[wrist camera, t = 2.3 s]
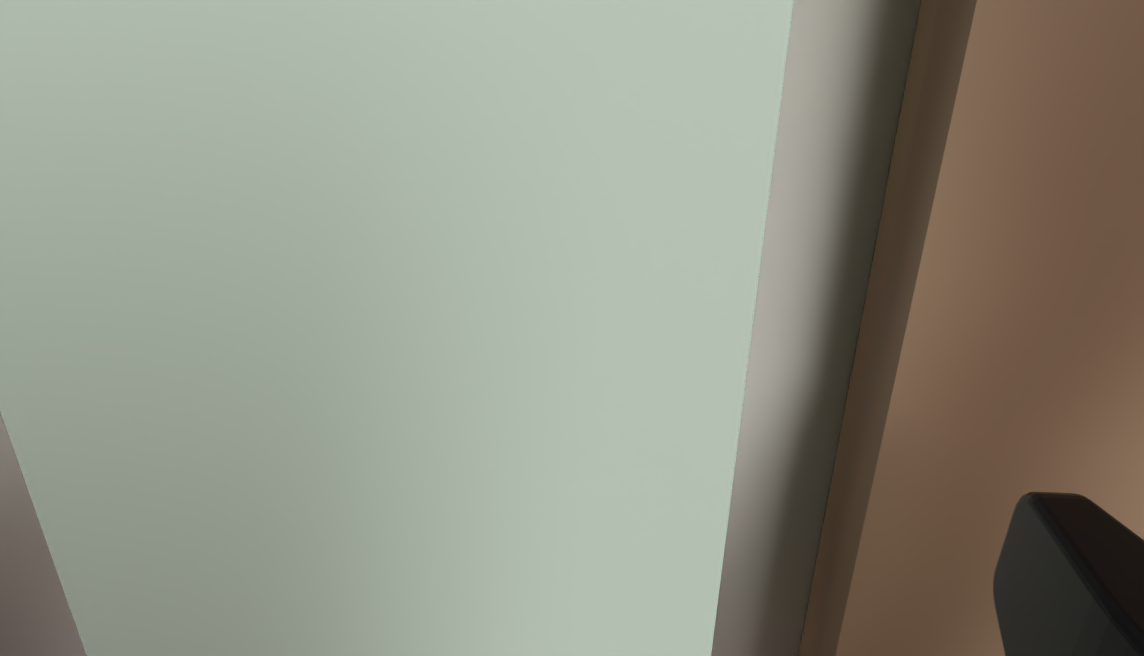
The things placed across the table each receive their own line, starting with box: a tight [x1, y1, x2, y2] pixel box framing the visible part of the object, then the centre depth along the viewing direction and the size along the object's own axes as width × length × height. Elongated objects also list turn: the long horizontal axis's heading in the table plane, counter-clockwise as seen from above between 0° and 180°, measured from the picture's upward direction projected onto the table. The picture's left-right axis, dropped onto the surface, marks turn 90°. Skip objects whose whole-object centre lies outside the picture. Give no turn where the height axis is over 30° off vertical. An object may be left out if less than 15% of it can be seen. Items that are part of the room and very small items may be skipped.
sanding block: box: [0, 0, 794, 656], centre depth 9 cm, size 4×12×6 cm, turn 179°
